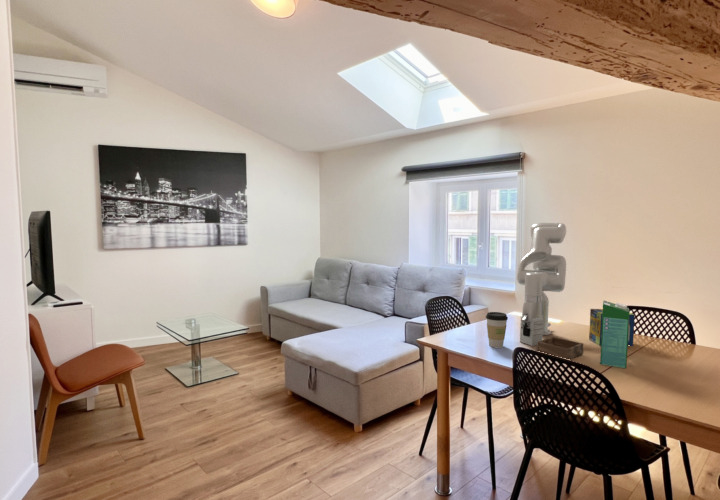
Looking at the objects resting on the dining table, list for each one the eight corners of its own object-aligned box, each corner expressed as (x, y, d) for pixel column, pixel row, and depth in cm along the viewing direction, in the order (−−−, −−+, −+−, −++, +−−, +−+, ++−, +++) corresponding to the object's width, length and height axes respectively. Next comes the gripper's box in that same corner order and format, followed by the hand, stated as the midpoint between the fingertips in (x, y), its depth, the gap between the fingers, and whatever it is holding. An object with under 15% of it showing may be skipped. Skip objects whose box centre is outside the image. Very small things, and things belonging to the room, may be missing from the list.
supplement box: (519, 342, 196) (520, 316, 195) (530, 340, 199) (531, 314, 198) (531, 346, 189) (532, 319, 188) (543, 344, 192) (543, 317, 191)
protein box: (588, 339, 200) (589, 308, 199) (621, 340, 199) (622, 309, 198) (599, 346, 190) (600, 313, 189) (633, 347, 188) (635, 314, 187)
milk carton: (626, 368, 161) (629, 306, 159) (600, 364, 166) (602, 303, 164) (626, 361, 169) (629, 302, 167) (600, 357, 173) (603, 300, 172)
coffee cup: (508, 349, 184) (509, 317, 183) (486, 348, 186) (486, 315, 185) (505, 343, 194) (506, 312, 193) (483, 341, 196) (484, 311, 195)
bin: (552, 347, 188) (552, 336, 188) (582, 354, 177) (583, 343, 177) (537, 352, 180) (537, 341, 179) (568, 361, 169) (568, 349, 169)
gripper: (535, 295, 201) (533, 329, 202) (515, 299, 190) (514, 335, 192) (550, 297, 195) (548, 333, 196) (530, 302, 184) (529, 339, 186)
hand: (531, 334), depth 194 cm, fingers open, 9 cm apart
